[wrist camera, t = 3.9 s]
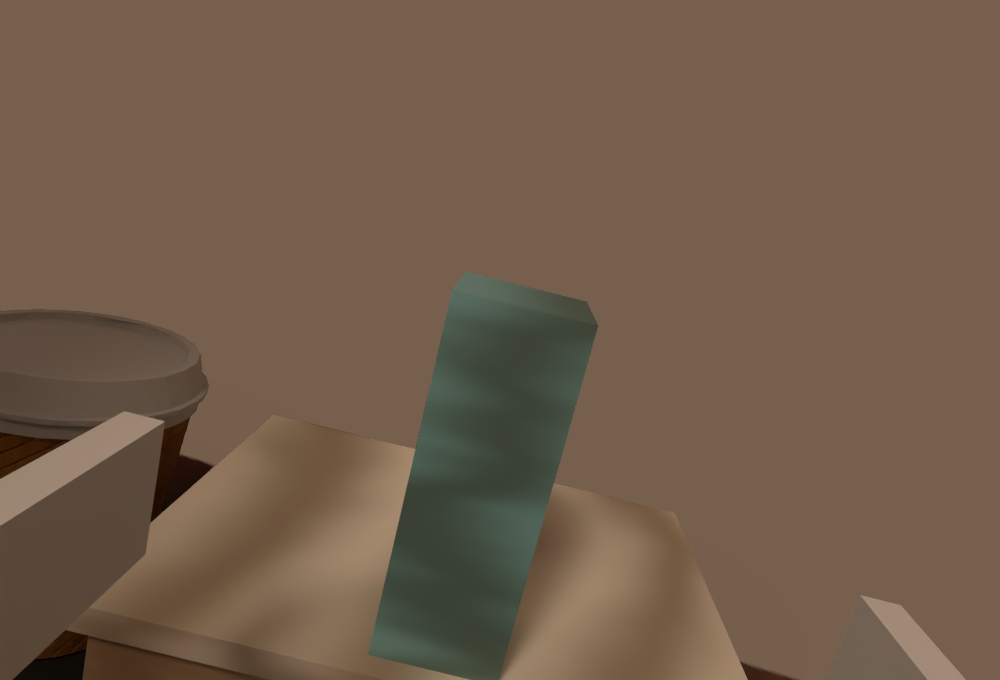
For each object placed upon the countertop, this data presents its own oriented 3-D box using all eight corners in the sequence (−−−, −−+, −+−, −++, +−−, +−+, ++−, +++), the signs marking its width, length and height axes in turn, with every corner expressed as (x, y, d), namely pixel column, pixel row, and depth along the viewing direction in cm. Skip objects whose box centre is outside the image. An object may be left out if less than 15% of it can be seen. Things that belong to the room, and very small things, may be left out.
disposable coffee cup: (219, 603, 33) (261, 360, 30) (17, 734, 24) (53, 407, 22) (72, 526, 36) (99, 298, 33) (-156, 617, 27) (-143, 317, 24)
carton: (57, 870, 20) (89, 631, 19) (248, 595, 34) (276, 442, 32) (665, 1016, 20) (752, 792, 19) (611, 684, 34) (659, 536, 32)
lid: (59, 628, 18) (109, 209, 16) (270, 430, 33) (312, 198, 30) (780, 803, 18) (936, 415, 16) (669, 528, 33) (742, 305, 31)
